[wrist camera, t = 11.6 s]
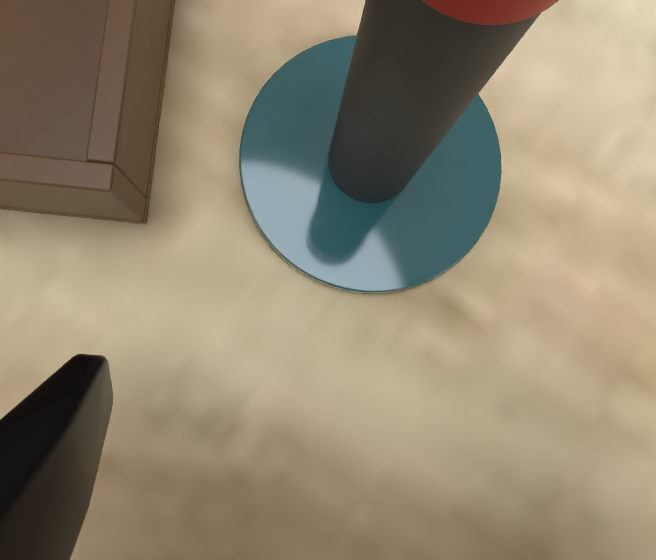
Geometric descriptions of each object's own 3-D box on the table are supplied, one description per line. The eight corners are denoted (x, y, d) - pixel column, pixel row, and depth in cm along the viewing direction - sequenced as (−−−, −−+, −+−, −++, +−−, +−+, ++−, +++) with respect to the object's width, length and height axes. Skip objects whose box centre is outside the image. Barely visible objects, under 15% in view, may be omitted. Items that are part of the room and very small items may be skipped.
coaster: (532, 247, 19) (539, 244, 19) (288, 329, 18) (288, 328, 18) (446, 13, 20) (450, 4, 19) (206, 82, 19) (203, 75, 19)
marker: (429, 190, 19) (855, -256, 5) (342, 218, 18) (527, -172, 5) (399, 104, 19) (722, -559, 5) (312, 131, 19) (402, -497, 5)
